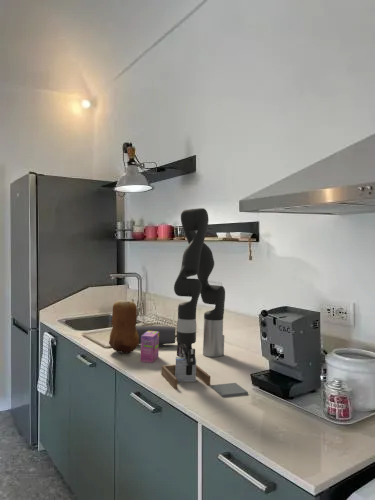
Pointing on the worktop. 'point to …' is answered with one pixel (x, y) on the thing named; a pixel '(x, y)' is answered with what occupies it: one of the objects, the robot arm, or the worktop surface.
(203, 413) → the worktop surface
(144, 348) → the box
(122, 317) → the butternut squash
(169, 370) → the u-shaped wooden frame
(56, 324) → the worktop surface
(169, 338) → the bluetooth speaker
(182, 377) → the medicine box
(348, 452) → the worktop surface
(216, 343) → the robot arm
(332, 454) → the worktop surface
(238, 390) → the coaster
